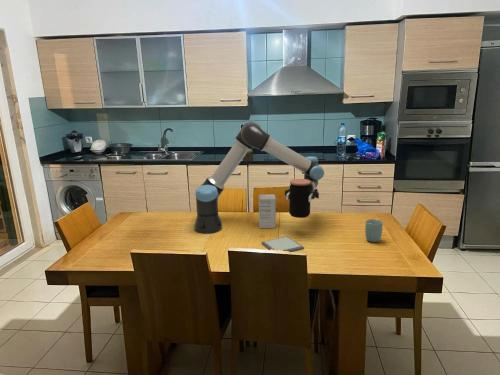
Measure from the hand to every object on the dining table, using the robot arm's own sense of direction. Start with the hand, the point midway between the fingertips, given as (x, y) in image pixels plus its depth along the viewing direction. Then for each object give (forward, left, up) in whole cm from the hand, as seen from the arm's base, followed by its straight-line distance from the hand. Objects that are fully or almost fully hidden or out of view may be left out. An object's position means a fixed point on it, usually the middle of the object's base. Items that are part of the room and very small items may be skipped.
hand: (298, 198), depth 185 cm
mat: (+7, -13, -20) cm, 25 cm away
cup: (+22, +30, -21) cm, 42 cm away
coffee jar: (-3, +3, -10) cm, 11 cm away
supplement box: (-22, -6, -21) cm, 31 cm away
